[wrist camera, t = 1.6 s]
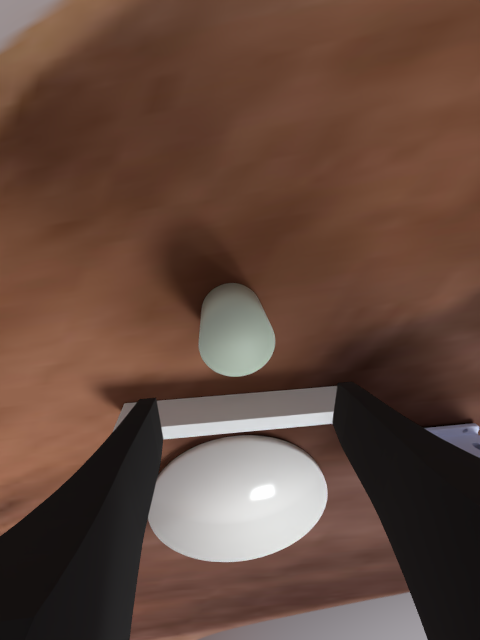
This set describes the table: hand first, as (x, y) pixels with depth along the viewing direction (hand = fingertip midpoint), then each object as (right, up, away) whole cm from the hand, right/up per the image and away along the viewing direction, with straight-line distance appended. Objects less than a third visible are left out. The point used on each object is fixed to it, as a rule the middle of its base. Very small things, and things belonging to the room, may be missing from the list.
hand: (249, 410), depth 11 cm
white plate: (0, -15, +18) cm, 23 cm away
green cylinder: (-1, +4, +10) cm, 10 cm away
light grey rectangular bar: (-1, -3, +13) cm, 13 cm away
